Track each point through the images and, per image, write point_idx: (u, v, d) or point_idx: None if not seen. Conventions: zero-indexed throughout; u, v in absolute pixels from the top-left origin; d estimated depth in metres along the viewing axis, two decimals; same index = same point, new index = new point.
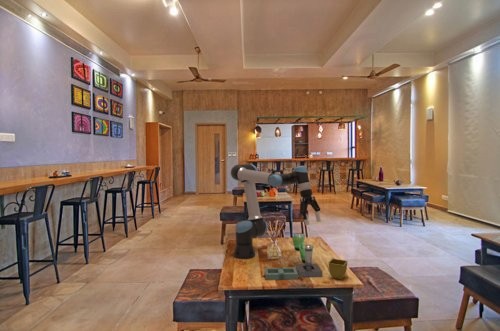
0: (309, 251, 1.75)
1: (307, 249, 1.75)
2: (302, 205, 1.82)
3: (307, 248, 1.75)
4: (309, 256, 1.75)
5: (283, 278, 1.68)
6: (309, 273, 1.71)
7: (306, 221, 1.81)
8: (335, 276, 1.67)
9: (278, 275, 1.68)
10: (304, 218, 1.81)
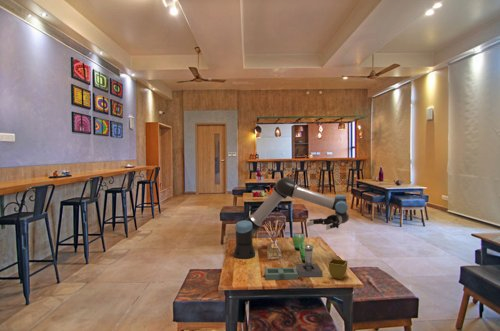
0: (309, 251, 1.75)
1: (307, 249, 1.75)
2: (338, 225, 1.86)
3: (307, 248, 1.75)
4: (309, 256, 1.75)
5: (283, 278, 1.68)
6: (309, 273, 1.71)
7: (329, 227, 1.80)
8: (335, 276, 1.67)
9: (278, 275, 1.68)
10: (332, 226, 1.81)
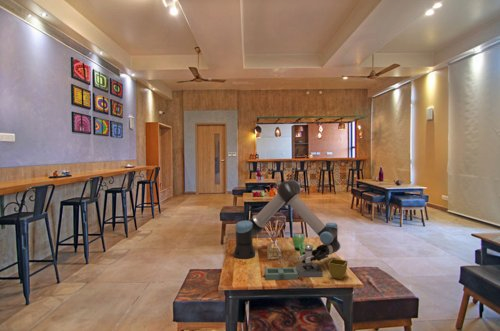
0: (309, 251, 1.75)
1: (307, 249, 1.75)
2: (322, 258, 1.78)
3: (307, 248, 1.75)
4: (309, 256, 1.75)
5: (283, 278, 1.68)
6: (309, 273, 1.71)
7: (309, 260, 1.73)
8: (335, 276, 1.67)
9: (278, 275, 1.68)
10: (312, 259, 1.73)
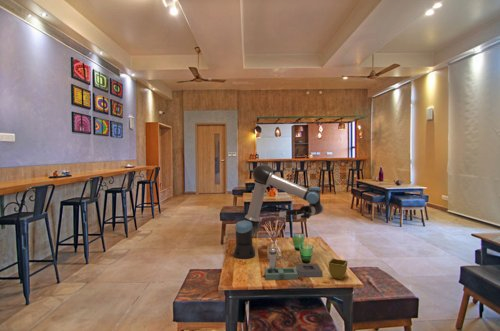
0: (273, 254, 1.71)
1: (271, 252, 1.71)
2: None
3: (271, 251, 1.71)
4: (273, 259, 1.71)
5: (283, 278, 1.68)
6: (309, 273, 1.71)
7: (299, 217, 1.82)
8: (335, 276, 1.67)
9: (278, 275, 1.68)
10: (303, 216, 1.83)
